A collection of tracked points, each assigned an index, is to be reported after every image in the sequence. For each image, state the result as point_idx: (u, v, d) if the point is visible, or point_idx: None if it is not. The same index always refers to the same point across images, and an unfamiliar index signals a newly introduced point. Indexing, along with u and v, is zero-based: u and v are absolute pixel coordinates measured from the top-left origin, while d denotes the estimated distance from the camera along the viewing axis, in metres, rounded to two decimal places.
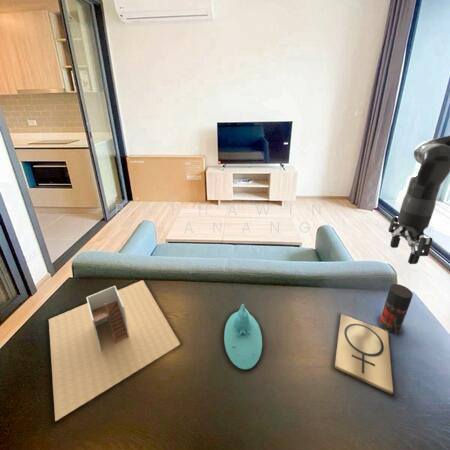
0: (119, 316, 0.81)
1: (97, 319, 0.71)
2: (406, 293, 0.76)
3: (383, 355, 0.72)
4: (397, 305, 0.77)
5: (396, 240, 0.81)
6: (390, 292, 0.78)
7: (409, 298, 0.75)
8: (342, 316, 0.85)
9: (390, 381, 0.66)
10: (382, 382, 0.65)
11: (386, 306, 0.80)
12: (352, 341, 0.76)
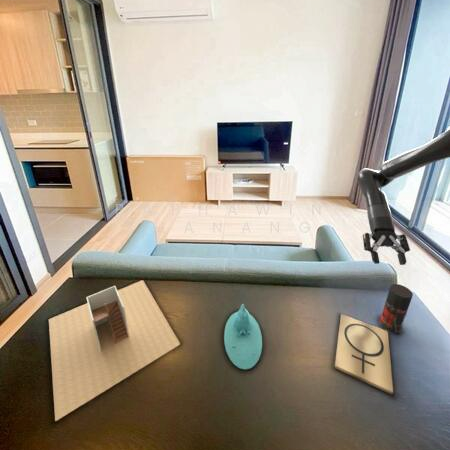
0: (119, 316, 0.81)
1: (97, 319, 0.71)
2: (406, 293, 0.76)
3: (383, 355, 0.72)
4: (397, 305, 0.77)
5: (399, 256, 0.85)
6: (390, 292, 0.78)
7: (409, 298, 0.75)
8: (342, 316, 0.85)
9: (390, 381, 0.66)
10: (382, 382, 0.65)
11: (386, 306, 0.80)
12: (352, 341, 0.76)
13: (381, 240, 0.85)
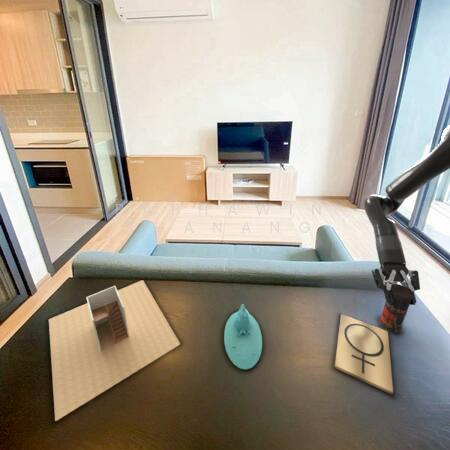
0: (119, 316, 0.81)
1: (97, 319, 0.71)
2: (406, 293, 0.76)
3: (383, 355, 0.72)
4: (397, 305, 0.77)
5: None
6: None
7: (409, 298, 0.75)
8: (342, 316, 0.85)
9: (390, 381, 0.66)
10: (382, 382, 0.65)
11: (386, 306, 0.80)
12: (352, 341, 0.76)
13: (391, 275, 0.79)
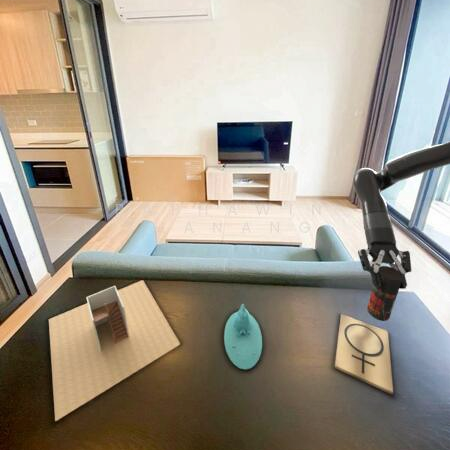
0: (119, 316, 0.81)
1: (97, 319, 0.71)
2: (396, 275, 0.68)
3: (383, 355, 0.72)
4: (385, 289, 0.68)
5: None
6: None
7: (399, 281, 0.66)
8: (342, 316, 0.85)
9: (390, 381, 0.66)
10: (382, 382, 0.65)
11: (373, 291, 0.71)
12: (352, 341, 0.76)
13: (379, 256, 0.70)
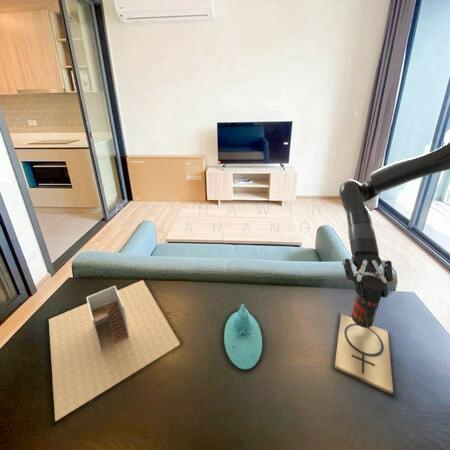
0: (119, 316, 0.81)
1: (97, 319, 0.71)
2: (377, 284, 0.71)
3: (383, 355, 0.72)
4: (367, 298, 0.71)
5: None
6: None
7: (380, 290, 0.69)
8: (342, 316, 0.85)
9: (390, 381, 0.66)
10: (382, 382, 0.65)
11: (357, 299, 0.74)
12: (352, 341, 0.76)
13: (362, 266, 0.73)
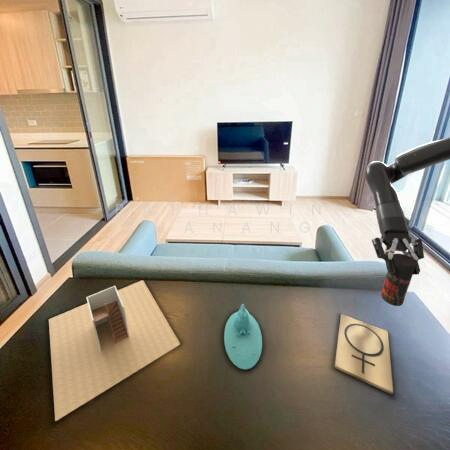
0: (119, 316, 0.81)
1: (97, 319, 0.71)
2: (409, 261, 0.71)
3: (383, 355, 0.72)
4: (400, 275, 0.71)
5: None
6: None
7: (412, 266, 0.70)
8: (342, 316, 0.85)
9: (390, 381, 0.66)
10: (382, 382, 0.65)
11: (388, 277, 0.75)
12: (352, 341, 0.76)
13: (393, 244, 0.74)
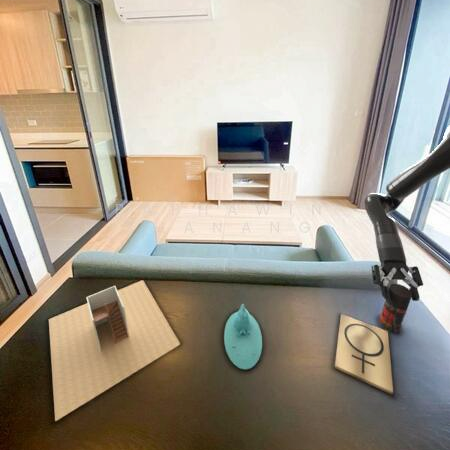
0: (119, 316, 0.81)
1: (97, 319, 0.71)
2: (406, 292, 0.77)
3: (383, 355, 0.72)
4: (396, 305, 0.77)
5: (412, 291, 0.78)
6: (389, 292, 0.78)
7: (408, 298, 0.75)
8: (342, 316, 0.85)
9: (390, 381, 0.66)
10: (382, 382, 0.65)
11: (385, 306, 0.80)
12: (352, 341, 0.76)
13: (392, 273, 0.79)
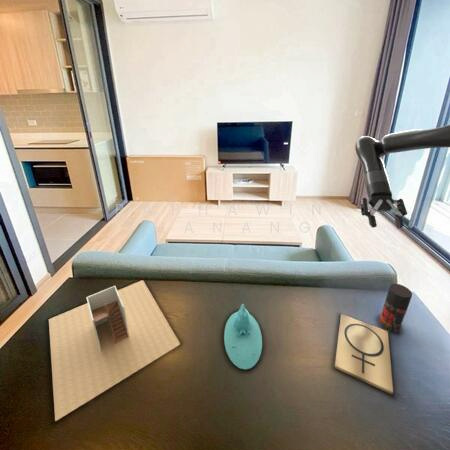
0: (119, 316, 0.81)
1: (97, 319, 0.71)
2: (406, 292, 0.77)
3: (383, 355, 0.72)
4: (396, 305, 0.77)
5: (396, 220, 0.84)
6: (389, 292, 0.78)
7: (408, 298, 0.75)
8: (342, 316, 0.85)
9: (390, 381, 0.66)
10: (382, 382, 0.65)
11: (385, 306, 0.80)
12: (352, 341, 0.76)
13: (378, 204, 0.85)
